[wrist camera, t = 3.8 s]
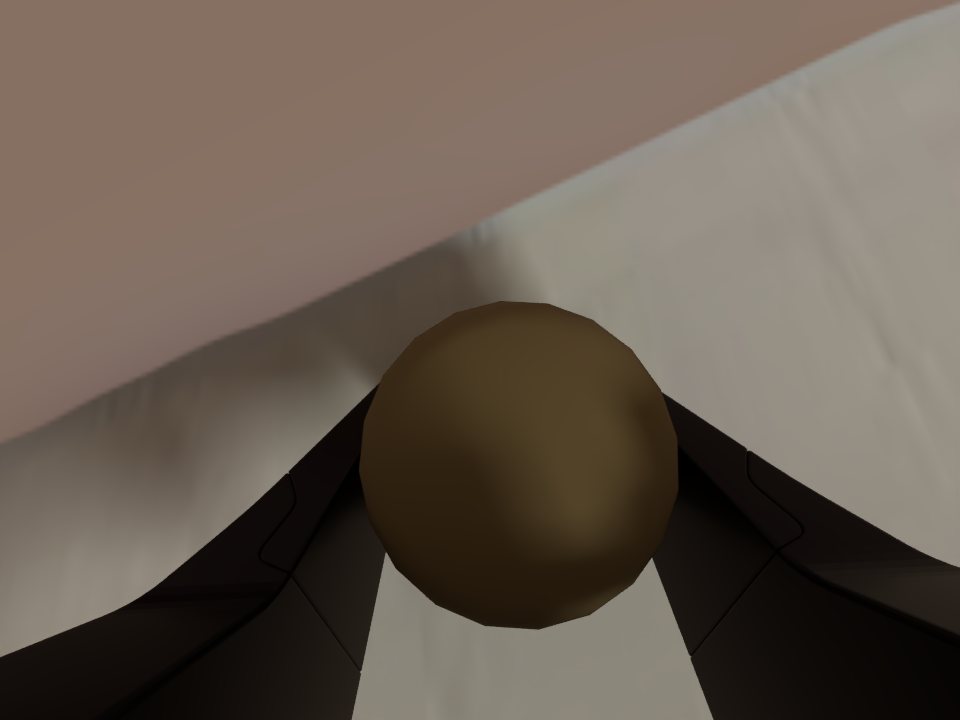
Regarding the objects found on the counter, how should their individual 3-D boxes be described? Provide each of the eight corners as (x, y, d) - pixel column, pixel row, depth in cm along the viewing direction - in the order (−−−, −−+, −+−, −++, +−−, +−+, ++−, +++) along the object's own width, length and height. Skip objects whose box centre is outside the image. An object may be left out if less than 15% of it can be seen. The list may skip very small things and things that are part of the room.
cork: (431, 515, 15) (299, 752, 4) (420, 368, 16) (287, 265, 5) (580, 500, 15) (811, 698, 4) (560, 353, 16) (710, 221, 5)
